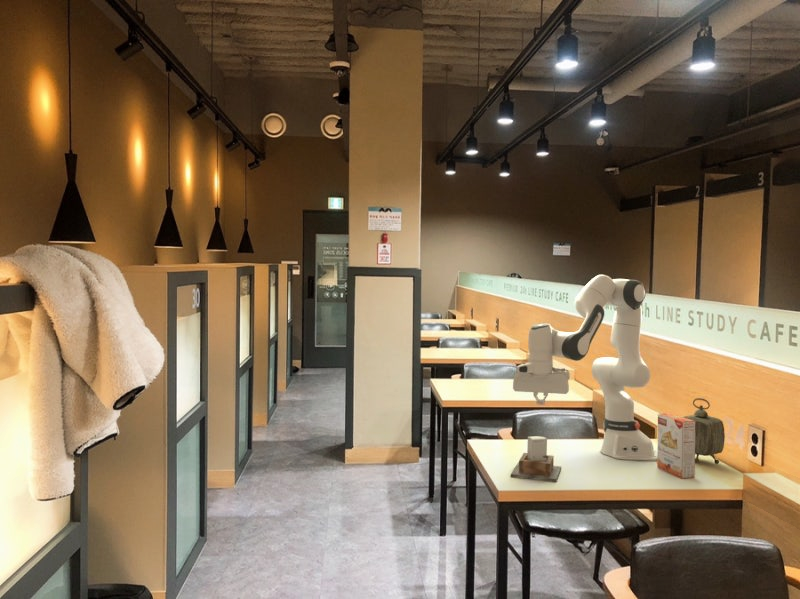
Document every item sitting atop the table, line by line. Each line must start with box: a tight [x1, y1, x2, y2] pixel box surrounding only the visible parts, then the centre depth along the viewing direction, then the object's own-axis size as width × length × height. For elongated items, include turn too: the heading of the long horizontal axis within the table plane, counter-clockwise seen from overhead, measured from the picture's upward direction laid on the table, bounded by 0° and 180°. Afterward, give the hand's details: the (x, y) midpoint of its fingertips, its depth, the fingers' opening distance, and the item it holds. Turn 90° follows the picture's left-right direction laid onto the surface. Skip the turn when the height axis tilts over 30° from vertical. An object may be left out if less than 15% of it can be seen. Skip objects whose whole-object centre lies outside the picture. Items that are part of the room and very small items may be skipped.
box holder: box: [510, 452, 562, 483], centre depth 226 cm, size 16×16×6 cm
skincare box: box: [526, 435, 548, 462], centre depth 226 cm, size 6×4×12 cm
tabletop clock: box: [683, 397, 726, 465], centre depth 241 cm, size 14×9×25 cm, turn 31°
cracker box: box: [656, 412, 696, 480], centre depth 227 cm, size 14×6×21 cm, turn 13°
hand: (540, 404), depth 228 cm, fingers closed
